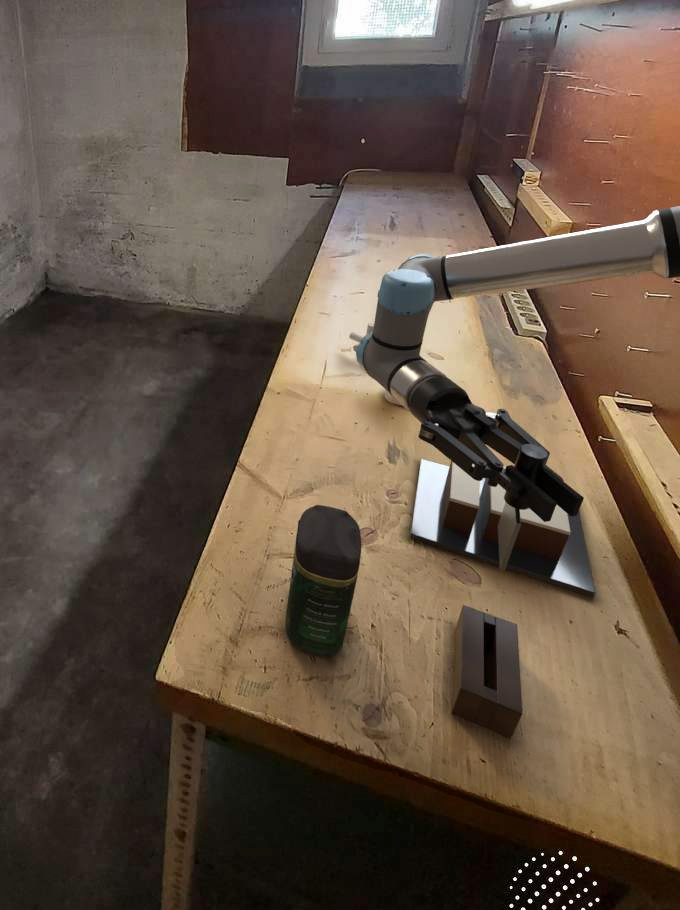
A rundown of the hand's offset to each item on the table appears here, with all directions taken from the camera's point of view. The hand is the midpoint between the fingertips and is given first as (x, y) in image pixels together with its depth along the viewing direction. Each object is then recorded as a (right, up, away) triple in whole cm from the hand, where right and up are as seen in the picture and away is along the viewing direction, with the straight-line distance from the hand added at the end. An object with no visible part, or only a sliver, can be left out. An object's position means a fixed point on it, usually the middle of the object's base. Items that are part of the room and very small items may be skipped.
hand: (563, 509), depth 63 cm
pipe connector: (+8, +11, +76) cm, 78 cm away
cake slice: (+6, -10, +31) cm, 33 cm away
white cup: (+10, +4, +61) cm, 62 cm away
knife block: (-5, -24, +7) cm, 25 cm away
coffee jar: (-24, -21, +14) cm, 35 cm away
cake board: (+11, -12, +29) cm, 33 cm away
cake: (+13, -11, +28) cm, 33 cm away
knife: (-1, -8, +10) cm, 13 cm away
